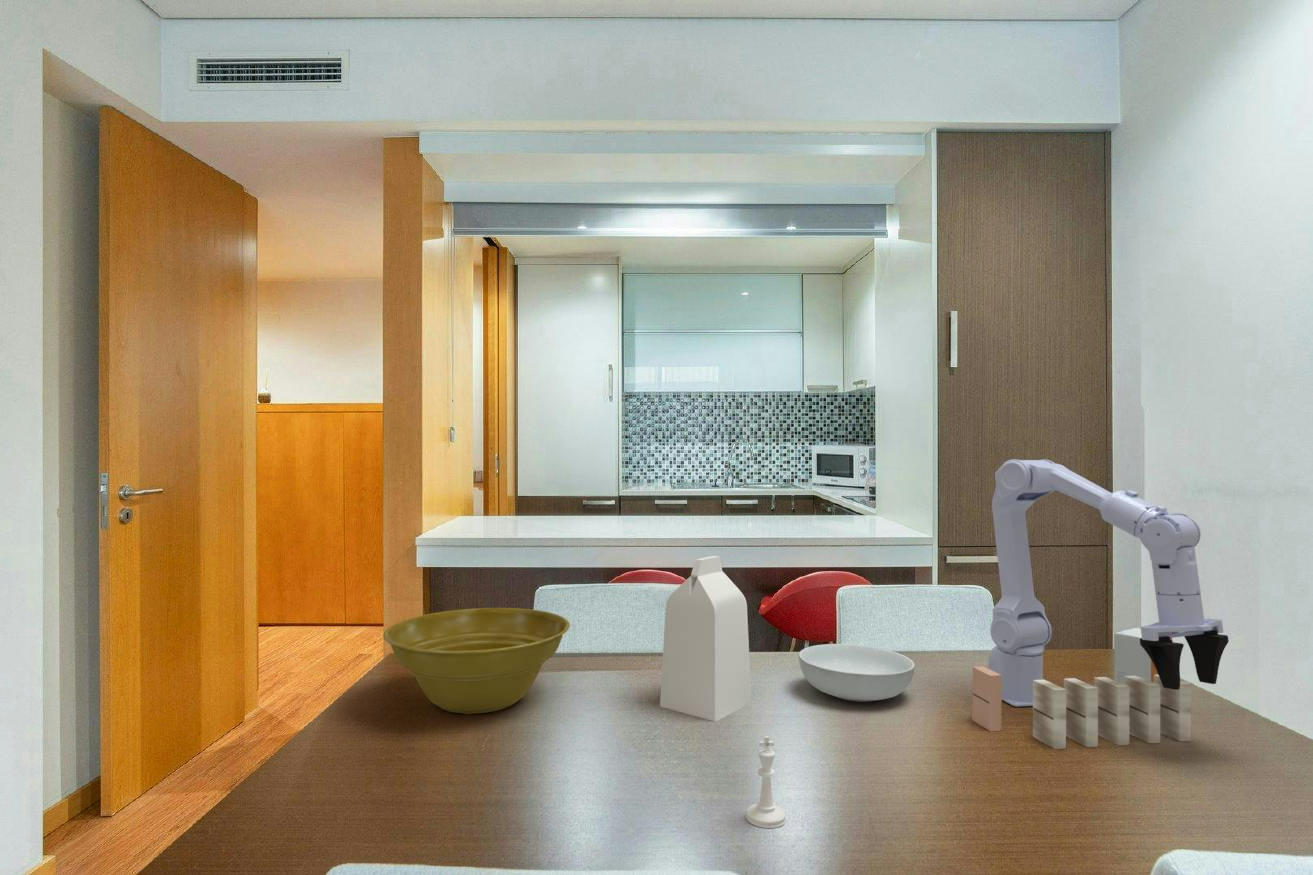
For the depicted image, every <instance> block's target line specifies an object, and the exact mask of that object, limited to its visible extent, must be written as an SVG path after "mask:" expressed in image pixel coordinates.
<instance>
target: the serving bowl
mask: <svg viewBox="0 0 1313 875" xmlns="http://www.w3.org/2000/svg"><path fill="white" fill-rule="evenodd" d="M798 660H799V661H798V662H799V666H800V670H801V673H802V674H803V676H804V678H805V680H806V681H807V682H808V684H809V683H810V685H811V686H812V687H814V688H815V689H817V690H818V691H820V692H822V693H825V694H826V695H830V696H832V697H836V698H838V699H840V700H845V701H848V702H849V701H850V702H858V703H860V702H861V703H863V702H865V703H868V702H874V701H881V700H886V699H891V698H894V697H896V696H898V695H900V694H901V693H903V692H904V691H905V690H906V689H907V688H908V687H909V685H911V684H910V683H911V682H912V681H913V676H914V674H915V668H916V665H915V662H914V660H912V659H910V657H907V655H904V654H901V653H899V652H895V651H893V650H889V649H885V648H879V647H875V646H869V645H863V644H861V645H860V644H852V643H850V644H849V643H826V644H817V645H811V646H808V647H806V648H803V649H801V650H800V651H799V653H798Z"/></svg>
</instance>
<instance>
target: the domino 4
mask: <svg viewBox="0 0 1313 875" xmlns="http://www.w3.org/2000/svg"><path fill="white" fill-rule="evenodd" d="M1124 685H1127V686H1129V735H1131V736H1133V737H1135V738H1136V739H1139V740H1141V741H1144V742H1145V743H1147V744H1158V743H1159V744H1160V743H1161V733H1160V685H1158V684H1156V683H1153V682H1151V681H1148V680H1145V679H1143V678H1140V677H1137V676H1124Z"/></svg>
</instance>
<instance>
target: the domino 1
mask: <svg viewBox="0 0 1313 875" xmlns="http://www.w3.org/2000/svg"><path fill="white" fill-rule="evenodd" d="M1032 738H1034V739H1036V740H1038V741H1040V742H1042V743H1043V744H1045V745H1046V746H1049V747H1050V748H1052V749H1054V750H1061V749H1062V750H1063V749H1066V748H1067V736H1066V689H1064V687H1061V686H1059V685H1057V684H1055V683H1053V682H1051V681H1049V680H1046V679H1043V680H1033V706H1032Z"/></svg>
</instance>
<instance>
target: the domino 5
mask: <svg viewBox="0 0 1313 875" xmlns="http://www.w3.org/2000/svg"><path fill="white" fill-rule="evenodd" d="M1154 683H1156V684H1158V685H1160V734H1162V735H1165V736H1166V737H1169V738H1171V739H1173V740H1176V741H1177V740H1178V742H1190V741H1192V740H1191V738H1192V735H1191V732H1192V731H1191V730H1192V729H1191V728H1192V727H1191V726H1192V725H1191V718H1192V717H1191V716H1192V714H1191V713H1192V712H1191V711H1192V709H1191V708H1192V707H1191V706H1192V705H1191V702H1192V699H1191V698H1192V689H1191V688H1192V686H1191V683H1190V682H1187V681H1184V680H1181V679H1180V689H1178V690H1174V689H1169V688H1164V687H1163V685H1162V682H1161V680H1160V677H1159V675H1154Z"/></svg>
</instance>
